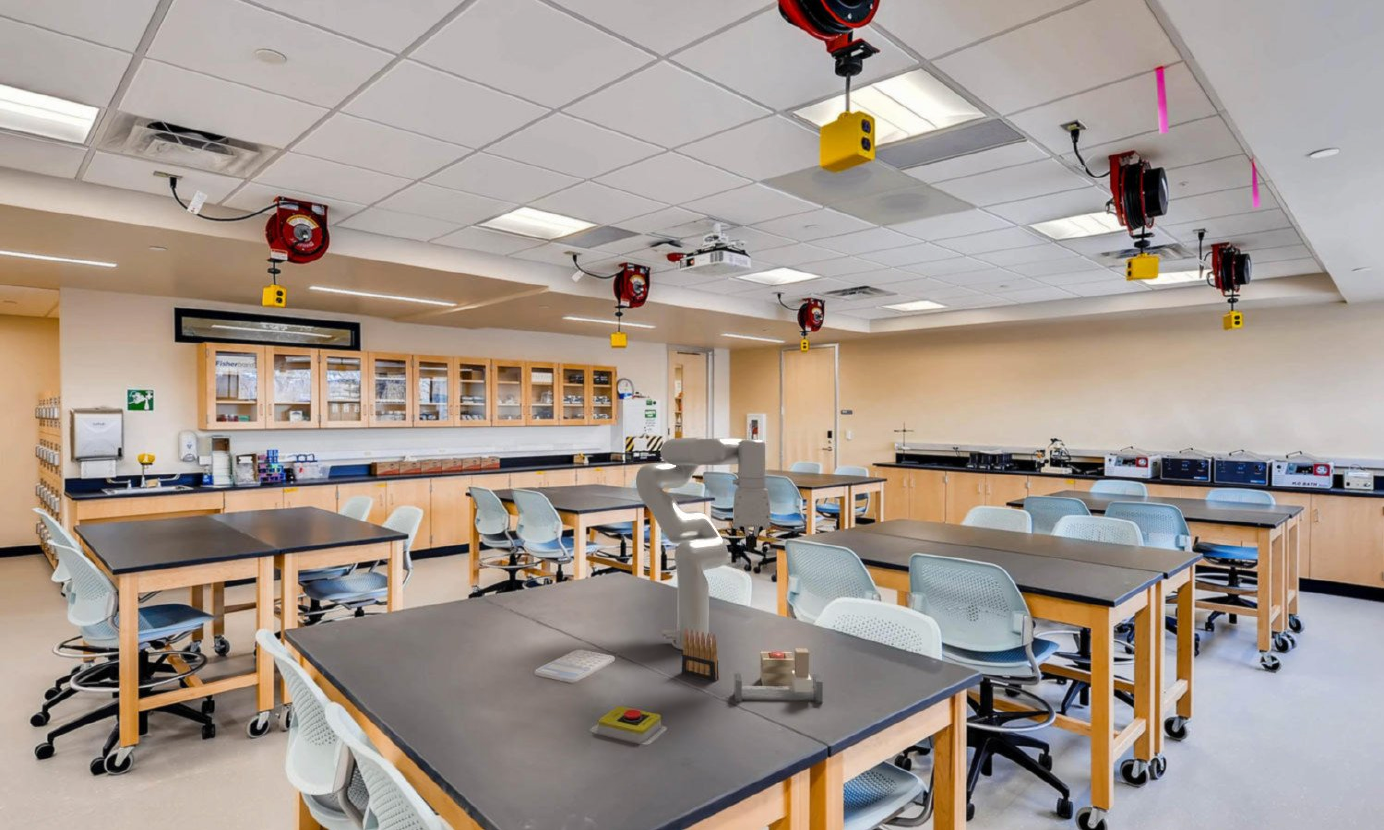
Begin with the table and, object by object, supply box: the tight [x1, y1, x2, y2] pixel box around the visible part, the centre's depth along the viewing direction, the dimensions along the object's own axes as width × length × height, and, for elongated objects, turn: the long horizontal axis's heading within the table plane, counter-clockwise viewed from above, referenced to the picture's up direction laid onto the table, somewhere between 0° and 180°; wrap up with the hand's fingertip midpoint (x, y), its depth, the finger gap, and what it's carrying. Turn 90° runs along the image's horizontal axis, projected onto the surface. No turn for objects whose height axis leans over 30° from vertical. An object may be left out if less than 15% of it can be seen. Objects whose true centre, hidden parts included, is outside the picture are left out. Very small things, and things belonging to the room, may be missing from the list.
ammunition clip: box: [681, 628, 720, 683], centre depth 182 cm, size 11×2×12 cm, turn 56°
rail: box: [733, 672, 824, 704], centre depth 168 cm, size 21×5×5 cm, turn 90°
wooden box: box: [760, 651, 795, 686], centre depth 178 cm, size 8×6×7 cm
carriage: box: [792, 647, 813, 692], centre depth 168 cm, size 4×6×9 cm, turn 0°
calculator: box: [534, 648, 616, 684], centre depth 188 cm, size 13×20×2 cm, turn 153°
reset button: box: [770, 650, 784, 659], centre depth 178 cm, size 4×4×4 cm
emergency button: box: [589, 705, 668, 746], centre depth 150 cm, size 9×4×15 cm
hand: (751, 549), depth 190 cm, fingers closed
